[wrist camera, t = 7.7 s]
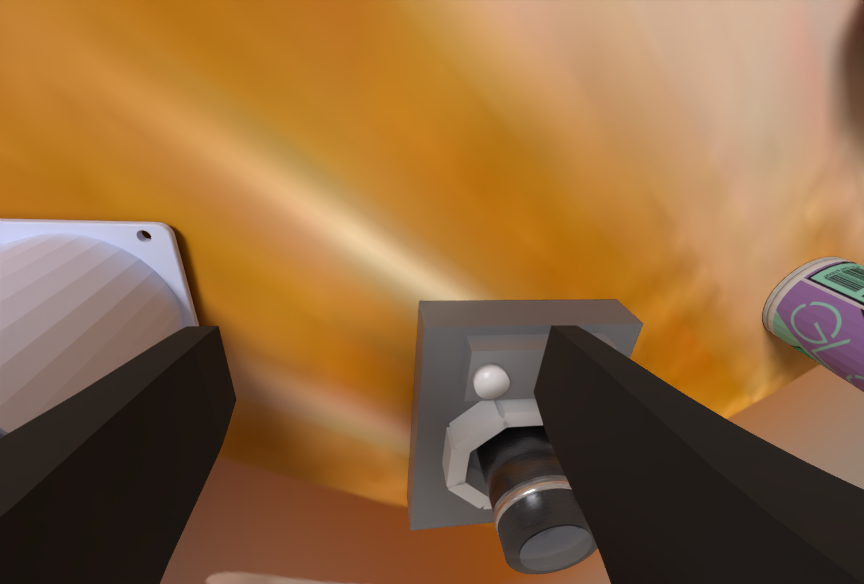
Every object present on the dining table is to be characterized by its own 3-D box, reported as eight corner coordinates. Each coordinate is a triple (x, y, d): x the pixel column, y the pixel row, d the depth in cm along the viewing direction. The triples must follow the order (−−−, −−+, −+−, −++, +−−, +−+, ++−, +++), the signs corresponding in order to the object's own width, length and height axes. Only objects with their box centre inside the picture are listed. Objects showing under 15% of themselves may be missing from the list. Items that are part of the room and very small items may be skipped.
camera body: (407, 495, 27) (412, 560, 23) (419, 301, 19) (429, 352, 16) (552, 483, 29) (578, 541, 25) (616, 299, 21) (667, 345, 18)
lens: (471, 466, 23) (500, 584, 17) (475, 410, 20) (510, 526, 15) (544, 457, 23) (595, 570, 18) (555, 402, 21) (617, 511, 16)
